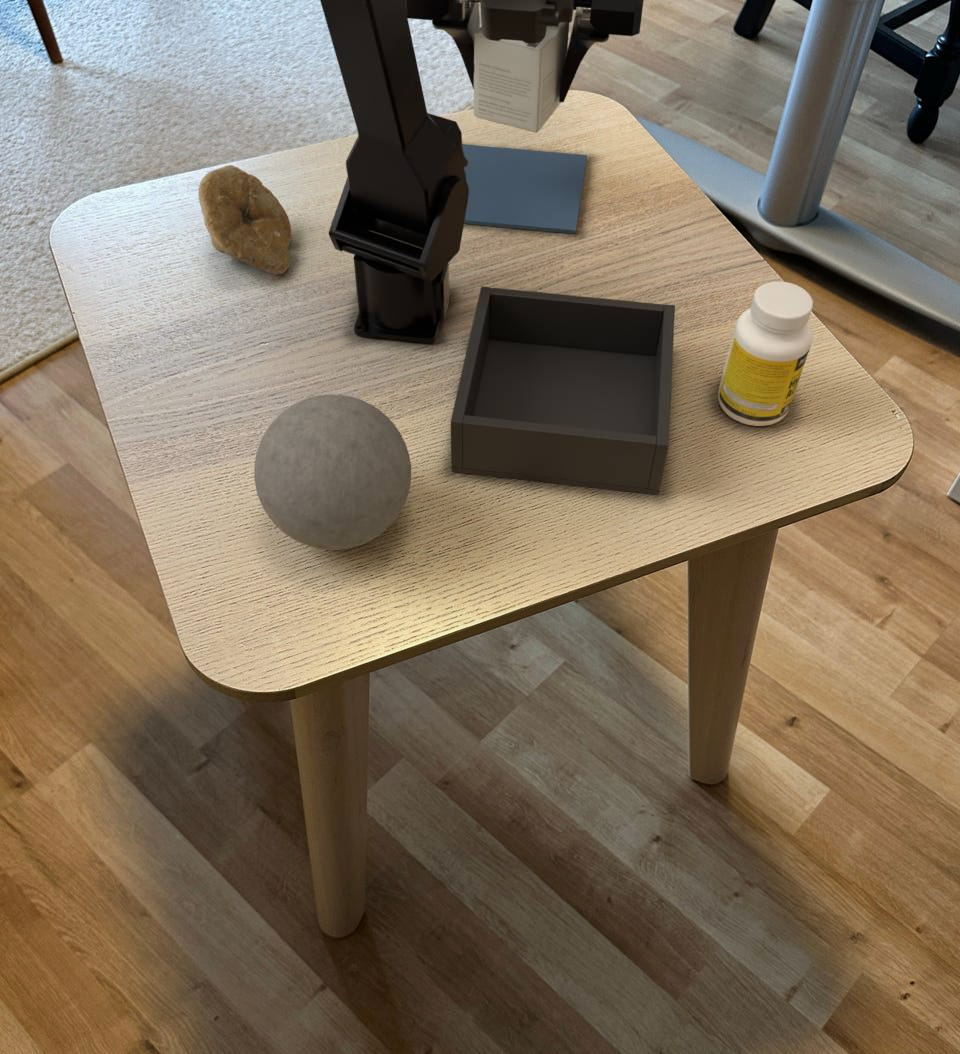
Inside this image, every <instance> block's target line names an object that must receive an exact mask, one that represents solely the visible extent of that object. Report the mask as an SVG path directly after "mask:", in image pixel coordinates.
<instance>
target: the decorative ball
mask: <svg viewBox="0 0 960 1054" xmlns="http://www.w3.org/2000/svg"><path fill="white" fill-rule="evenodd" d="M253 468H254V469H253V470H254V472H253V473H254V486H255V491H256V494H257V497H258V499H259V502H260V504H261V507H262V508H263V511H264V512H265V514H266V515H267V517H268V518H269V519H270V520H271V521H272V523H273V524H274V525H275V526H276V527H277V528H278V530H280V531H281V532H282V533H284V534H285V535H286V536H287V537H289V538H290V539H292V540H294V541H296V542H297V543H299V544H302V545H305V546H307V547H310V548H314V549H318V550H323V551H325V550H327V551H342V550H348V549H353V548H356V547H360V546H362V545H365V544H367V543H369V542H371V541H373V540H375V539H377V538H378V537H379V536H380V535H382V534H384V532H385V531H387V530H388V529H389V527H391V526H392V524H393V523H394V522H395V521H396V520H397V518H398V517H399V515H400V514H401V512H402V511H403V508H404V506H405V505H406V502H407V499H408V496H409V494H410V493H409V492H410V489H411V483H412V462H411V458H410V453H409V450H408V447H407V444H406V441H405V440H404V438H403V435H402V434H401V432H400V430H399V429H398V427H397V426H396V425H395V423H394V422H392V420H391V419H390V417H388V416H387V415H386V414H385V413H384V412H383V411H382V410H380V409H379V408H378V407H376V406H374V405H373V404H371V403H369V402H367V401H365V400H362V399H360V398H357V397H353V396H349V395H346V394H345V395H344V394H331V393H329V394H319V395H314V396H310V397H307V398H304V399H302V400H300V401H297V402H295V403H294V404H291V405H290V406H289V407H287V408H285V409H284V410H283V411H282V412H280V413H279V414H278V415H277V417H275V419H273V420H272V422H271V423H270V424H269V426H268V427H267V429H266V430H265V432H264V433H263V436H262V437H261V439H260V442H259V444H258V447H257V450H256V454H255V460H254V467H253Z"/></svg>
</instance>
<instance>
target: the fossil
mask: <svg viewBox="0 0 960 1054" xmlns="http://www.w3.org/2000/svg"><path fill="white" fill-rule="evenodd" d="M197 196H198V202H199V206H200V209H201V215H202V216H203V221H204V222H203V223H204V226H205V229H206V230H207V233H208V234H209V236H210V241H211V244H212V246H213V247H214V248H215V250H216V251H217V252H219V253H222V254H226V255H228V256H230V257H231V258H232V259H234V260H237V261H239V262H241V263H244V264H246V265H249V266H251V267H253V268H255V269H257V270H260V271H261V272H263V273H265V274H268V275H271V276H272V275H281V274H284V273H285V272H286V271H288V270H289V268H290V266H291V259H292V258H291V253H290V250H289V247H290V244H291V242H292V238H293V236H292V233H293V232H292V231H293V230H292V226H291V221H290V219H289V215H288V214H287V211H286V210H285V208H284V207H283V206H282V204H281V203H280V200H279V199H278V198H277V197H276V196H275V195H274V194H273V192H272V191H271V190H270V189H269V188H268V187H266V186H265V185H263V182H262V181H261V180H260V179H259V178H258V177H256V176H255V175H253V174H250V173H248V172H246V171H245V170H244V169H243V170H242V169H240V168H239V167H238V166H234V165H231V164H229V165H225V166H223V167H219V168H216V169H213V170H210V171H209V172H207V173H206V174H205V175H204V176H203V177H202V178H201V180H200V182H199V186H198V193H197Z"/></svg>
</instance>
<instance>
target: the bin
mask: <svg viewBox="0 0 960 1054" xmlns="http://www.w3.org/2000/svg"><path fill="white" fill-rule="evenodd" d="M675 312H676V305H674V304H665V303H664V304H663V303H652V302H644V301H643V302H642V301H633V300H621V299H611V298H601V297H594V296H593V297H591V296H581V295H571V294H562V293H551V292H541V291H533V290H531V291H530V290H522V289H511V288H499V287H491V286H481V287H480V290H479V294H478V300H477V303H476V308H475V312H474V317H473V322H472V325H471V330H470V334H469V339H468V343H467V347H466V351H465V356H464V359H463V360H464V361H463V365H462V370H461V373H460V378H459V383H458V388H457V390H456V391H457V392H456V397H455V401H454V405H453V409H452V414H451V417H450V467H451V469H450V470H451V472H454V473H460V474H470V475H479V476H486V477H487V476H488V477H495V478H505V479H515V480H524V481H533V482H540V483H541V482H542V483H550V484H559V485H566V486H568V485H569V486H575V487H576V486H577V487H586V488H594V489H602V490H610V491H611V490H612V491H621V492H629V493H638V494H647V495H657V496H658V495H659V493H660V489H661V485H662V479H663V475H664V469H665V466H666V460H667V455H668V451H669V446H670V428H671V427H670V426H671V406H672V405H671V404H672V381H673V378H672V377H673V362H674V361H673V358H674V356H673V355H674V340H675V339H674V338H675V337H674V335H675V317H676V316H675V315H676V313H675Z"/></svg>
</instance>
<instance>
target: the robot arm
mask: <svg viewBox="0 0 960 1054" xmlns="http://www.w3.org/2000/svg"><path fill="white" fill-rule="evenodd" d="M319 2H320V6H321V9H322V12H323V15H324V19H325V23H326V26H327V30H328V33H329V37H330V40H331V42H332V43H331V44H332V47H333V50H334V53H335V57H336V60H337V64H338V68H339V71H340V74H341V78H342V81H343V85H344V88H345V92H346V95H347V98H348V102H349V106H350V109H351V113H352V116H353V119H354V123H355V126H356V131H357V137H356V139H355V142H354V143H353V146H352V148H351V150H350V152H349V154H348V156H347V158H346V160H345V169H346V175H347V177H346V180H345V183H344V186H343V189H342V192H341V195H340V198H339V200H338V203H337V207H336V209H335V213H334V215H333V218H332V221H331V224H330V227H329V230H328V236H329V239H330V241H331V243H332V245H333V247H334V249H335V250H336V251H339V252H345V253H349V254H351V255H353V266H354V267H353V268H354V276H355V277H354V278H355V288H356V298H357V308H358V313H357V317H356V320H355V323H354V325H353V331H354V334H355V335H356V336H359V337H368V338H378V339H388V340H396V341H397V340H398V341H406V342H417V343H427V344H431V343H434V342H435V341H436V338H437V335H438V330H439V327H440V324H442V323H443V322H445V320H446V317H447V312H448V309H449V304H450V271H449V269H450V268H449V267H450V266H449V265H450V264H449V263H450V262H452V260H453V259H454V257H455V256H456V255H457V254H458V253H459V252H460V250H461V244H462V238H463V231H464V226H465V224H464V221H465V215H466V209H467V204H468V197H469V187H468V183H467V182H466V174H465V170H464V167H466V166H467V165H468V161H467V159H466V158H465V156H464V152H463V147H462V144H463V133H462V131H461V128H460V126H459V125H458V123H457V121H455V120H452V119H449V118H446V117H443V116H440V115H435V114H433V113H430V112H428V110H427V105H426V99H425V95H424V91H423V86H422V81H421V75H420V71H419V67H418V62H417V57H416V52H415V48H414V43H413V37H412V33H411V28H410V24H409V23H410V22H409V20H411V19H412V20H421V21H423V20H424V21H431V24H432V26H433V28H434V29H435V30H440V31H444V32H445V33H447V34H448V35H449V36H450V37H451V38H452V40H453V41H454V43H455V46H456V47H457V49H458V52H459V54H460V56H461V59H462V61H463V64H464V67H465V71H466V73H467V75H468V79H469V81H470V84H471V88H472V90H473V91H474V34H475V32H476V31H477V30H478V29H479V28H480V27H481V26H482V34H483V36H484V37H485V38H487V39H489V40H493V41H500V40H501V39H504V40H517V41H523V42H525V43H529V44H534V43H538V42H540V41H542V40H543V39H544V38H545V35H546V28H547V26H552V27H558V25H559V23H561V22H564V23H569V24H571V23H572V27H571V30H570V38H569V40H568V50H567V55H566V59H565V64H564V69H563V74H562V79H561V84H560V92H559V102H561V103H564V102H565V100H566V98H567V95H568V93H569V91H570V88H571V86H572V84H573V82H574V79H575V77H576V74H577V72H578V70H579V67H580V65H581V63H582V61H583V60H584V58H585V56H586V55H587V53H588V51H589V50H590V48H592V47H593V45H594V44H596V43H605V42H607V41H608V40H609V39H610V36H622V37H623V36H624V37H626V36H627V37H633V36H637V35H640V31H641V25H642V17H643V10H644V9H643V8H644V0H319ZM479 3H480V4H479ZM574 11H575V13H574ZM573 14H574V18H573ZM480 19H481V21H480ZM480 22H481V23H480Z"/></svg>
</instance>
